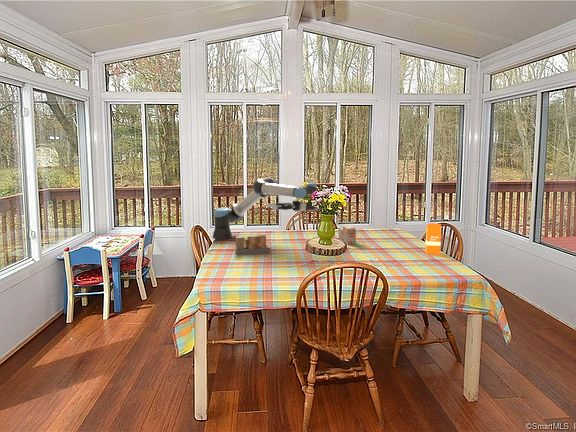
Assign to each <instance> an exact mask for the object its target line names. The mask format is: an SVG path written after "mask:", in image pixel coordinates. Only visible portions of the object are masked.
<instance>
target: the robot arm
mask: <svg viewBox="0 0 576 432" xmlns="http://www.w3.org/2000/svg"><path fill="white" fill-rule="evenodd" d="M317 186H318V184H317V183H316V182H307V183H306V186H296V185H295V186H294V185H286V184H278V183H277V181H276V180H275V179H274V178H272V177H266V178H265V177H264V178H258V179H256V180H255V181H254V182H253V183H252V191H251V192H250V193H249V194H247V195H246V196H245V197H244V198H243V199H242V200H240V202H237V203H234V204H232V205H231V207H225V206H224V207H223V206H222V207H218V208H216V209H215V210H214V213H213V214H214V215H213V216H214V229H213V233H212V239H213V240H229V239H230V240H231V239H233V233H232V231H231V228H230V225H231V224H233V223H238V222H240V221H242V220H243V219H244V216H245V214H246V212H248V210H250V208H252V207H253V206H255V204H256V203H257V202H259V201H260V200H261V199H262V198H267V197H268V196H269V195H274V196H275V195H276V196H285V197H291V198H297V200H296V199H295V200H292V203H291V202H274V203H273V202H272V203H270V202H269V203H267V204H266V207H267V208H271V210H272V211H275V210H276V211H278V210H279V211H281V210H282V211H287V210H293V212H297V211H301V212H304V211H317V210H319V209H318V208H317V207H314V206H312V202H311V203H310V204H304V203H303V201H301V200H303V199H305V198H304V197H305V196H306V195H307V194H312V193H313V192H314V191H315V190H317V191H318V187H317ZM298 199H299V200H300V201H299V200H298Z"/></svg>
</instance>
